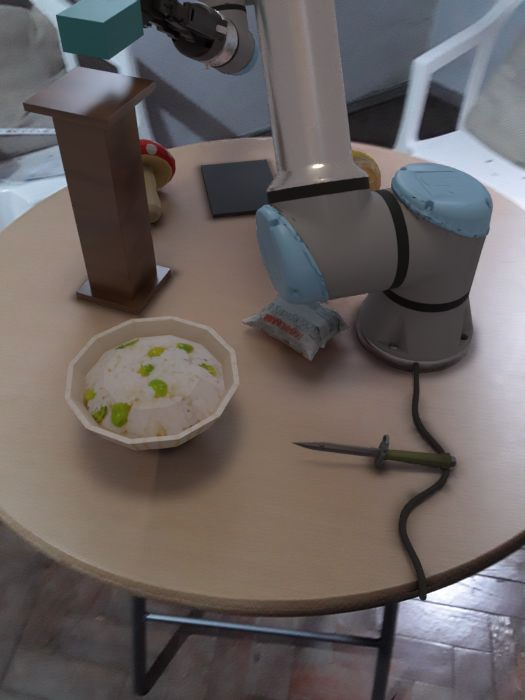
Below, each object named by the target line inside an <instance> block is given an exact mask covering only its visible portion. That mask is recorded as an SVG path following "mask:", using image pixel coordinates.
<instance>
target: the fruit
mask: <svg viewBox="0 0 525 700" xmlns="http://www.w3.org/2000/svg"><path fill="white" fill-rule="evenodd" d="M352 158H353V161H354V162H355V164H356V165H357V166H358V167H360V168H361V169H362V170H364V171H365V172H366V173H367V174H368V177H369V185H370V191H375V190H381V187H382V174H381V173H382V172H381V169H380V167H379V165H378V163H377V162H376V160H375V158H372V156H370V155H368V154H367V153H365V152H363V151H360V150H354V149H352Z"/></svg>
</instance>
